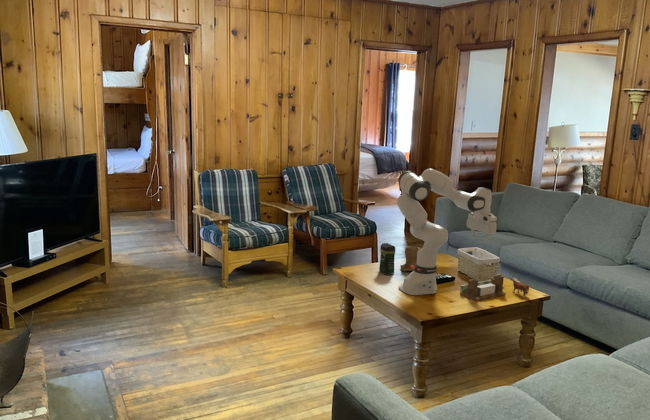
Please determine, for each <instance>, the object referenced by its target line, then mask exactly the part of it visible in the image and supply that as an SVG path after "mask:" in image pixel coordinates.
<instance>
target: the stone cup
mask: <svg viewBox="0 0 650 420" xmlns="http://www.w3.org/2000/svg"><path fill="white" fill-rule="evenodd" d="M420 248H421V247H418V246H406V247H405V250H404V256H405V263H404V264H401V265H400V270H401V271H403V272H408V271H409V272H410V271H412V272H413V271H414V269H412V268H410V267H411V265H413V266H415V265H416V263H417V252H418V250H419V249H420Z"/></svg>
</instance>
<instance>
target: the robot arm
mask: <svg viewBox="0 0 650 420" xmlns="http://www.w3.org/2000/svg"><path fill="white" fill-rule="evenodd" d="M398 185H399V187H398V189H399V192H401V194H400V195H399V197H397V201H396V205H397V207H398V209H399V211H400V212H401V213H402V216H403V217H404V218H405V219H406V221H407V223H408V224H410V227H409V232H410V234H411V236H413V237H414V238H416V239H417V240H421V241H423V243H424V244H423V246H422V247H419V248H420V249H419V250H418V252H417V263H416V265H415V266H413V265H411V267H410V268H412V269H414V270H413V271H412V272H410V273H409V274H408V275H407V276H405V278H404V279H403V282H402V285H399V286H398V289H399V290H400V291H401V292H402V293H405V294H408V295H411V296H419V295H420V296H422V295H430V294H432V295H433V294H436V293H437V290H438V287H437V280H436V279H437V277H436V276H437V275H436V273H437V268H438V267H437V258H438V253H439V250H440V248H441V247H442V245H444V244H446V243H447V241H448V238H449V232H448V230H447V229H446V228H445V227H443V226H442V225H440V224H436V223H433V222H431V221H429V220H428V213H427V212H426V210H425V208H424V207H423V205H421V203H420V202H421V201H424V200H425V199H426V198H427V197H428V196H429V194H430V192H433V193H435V194H437V195H440V196H442V197H446V198H447V199H448V200H450V202H451V203H452V204H453V206H454V208H458V209H462V210H466V211H468V212H469V214H468V217H467V219H466V228H468V229H470V231H471V236H472V238H476V237H477V233H476V231H477V232H480V233H483V234H485V235H486V236H485V237H483V241H485V242H488V241H489V238H490V237H491V236H493V235H496V234H497V222H496V221H497V220H498V217H497V216H496V215H494V214H493V213H491V211H492V210H491V206H492V199H493V197H492V196H493V195H492V190H491V189H490V188H487V187H483V186H482V187H481V186H479V187H477V189H475V190H474V191H473V192H470V193H469V192H466V191H464V190H459V189H458V190H456V189H455V188H454V182H453V180H452V178H450V177H449V176H448V175H447V174H445V173H443V172H441V171H439V170H436V169H434V168H427V169H424V170H423V171H422V173H421V174H420V175H418V174H416V173H415V172H413V171H411V170H405V171H402V172H401V173H400V175H399V176H398Z"/></svg>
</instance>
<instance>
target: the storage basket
mask: <svg viewBox="0 0 650 420" xmlns="http://www.w3.org/2000/svg"><path fill="white" fill-rule="evenodd" d="M456 253H457V270H458V271H459V272H461V273H463V274H464V275H466V276H468V277H469V278H471V279H475V280H476V281H478V282H481V281H486V280H492V281H494V277H495V275H497V274H498V271H499V265H500V262H501V258H500V257H499V256H497V255H496V254H493V253H491V252H490V251H487V250H485V249H483V248H480V247H477V246H475V247H474V246H473V247H463V248H458V249H457V252H456ZM470 253H472V254H470Z"/></svg>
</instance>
